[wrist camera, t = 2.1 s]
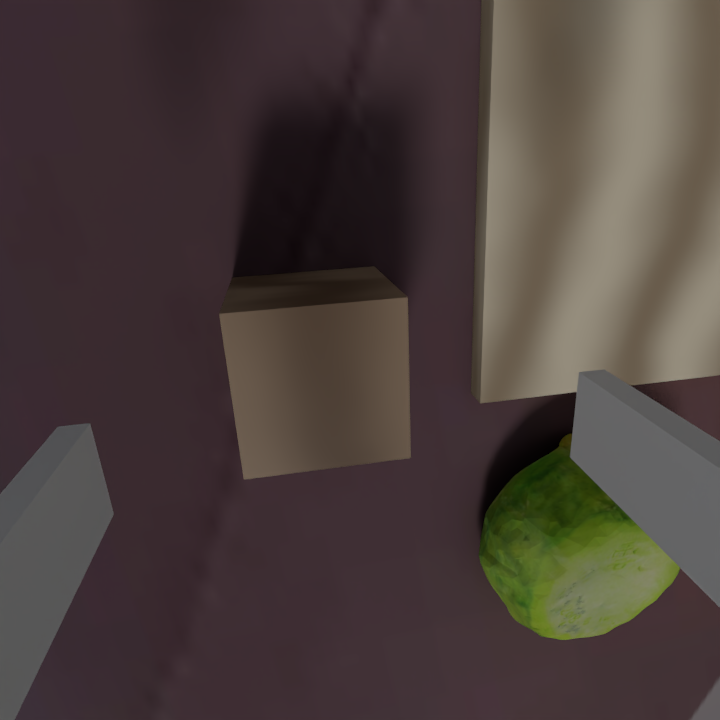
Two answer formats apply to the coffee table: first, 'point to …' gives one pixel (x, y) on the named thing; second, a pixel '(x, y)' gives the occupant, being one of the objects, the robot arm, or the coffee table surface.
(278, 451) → the walnut cube
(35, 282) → the coffee table surface
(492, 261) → the oak board
